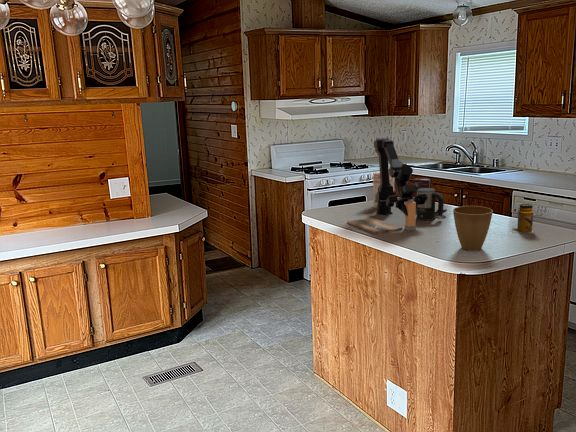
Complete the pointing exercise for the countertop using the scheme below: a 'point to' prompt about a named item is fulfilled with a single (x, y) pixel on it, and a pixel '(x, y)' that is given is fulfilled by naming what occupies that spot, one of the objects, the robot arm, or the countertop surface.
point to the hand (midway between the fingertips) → (411, 215)
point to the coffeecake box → (376, 184)
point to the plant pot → (472, 225)
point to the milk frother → (430, 205)
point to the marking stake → (410, 215)
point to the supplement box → (421, 184)
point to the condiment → (524, 219)
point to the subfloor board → (374, 225)
